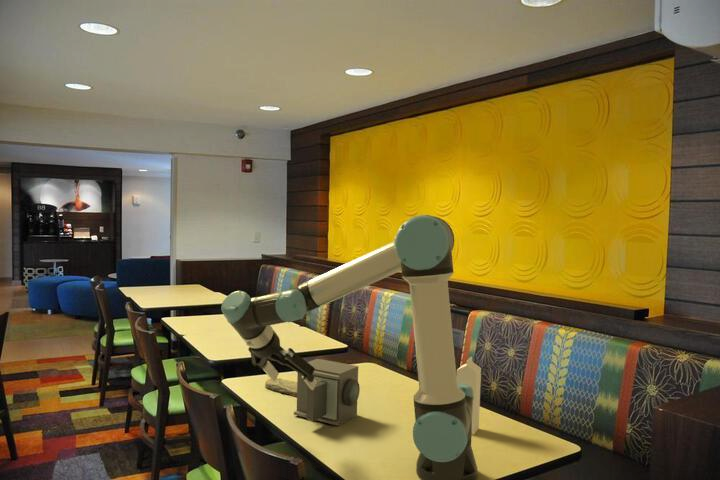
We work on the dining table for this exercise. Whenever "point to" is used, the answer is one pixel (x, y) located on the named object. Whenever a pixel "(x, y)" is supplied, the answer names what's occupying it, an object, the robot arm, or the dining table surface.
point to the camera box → (345, 390)
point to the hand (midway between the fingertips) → (294, 381)
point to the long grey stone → (282, 386)
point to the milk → (472, 377)
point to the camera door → (322, 399)
